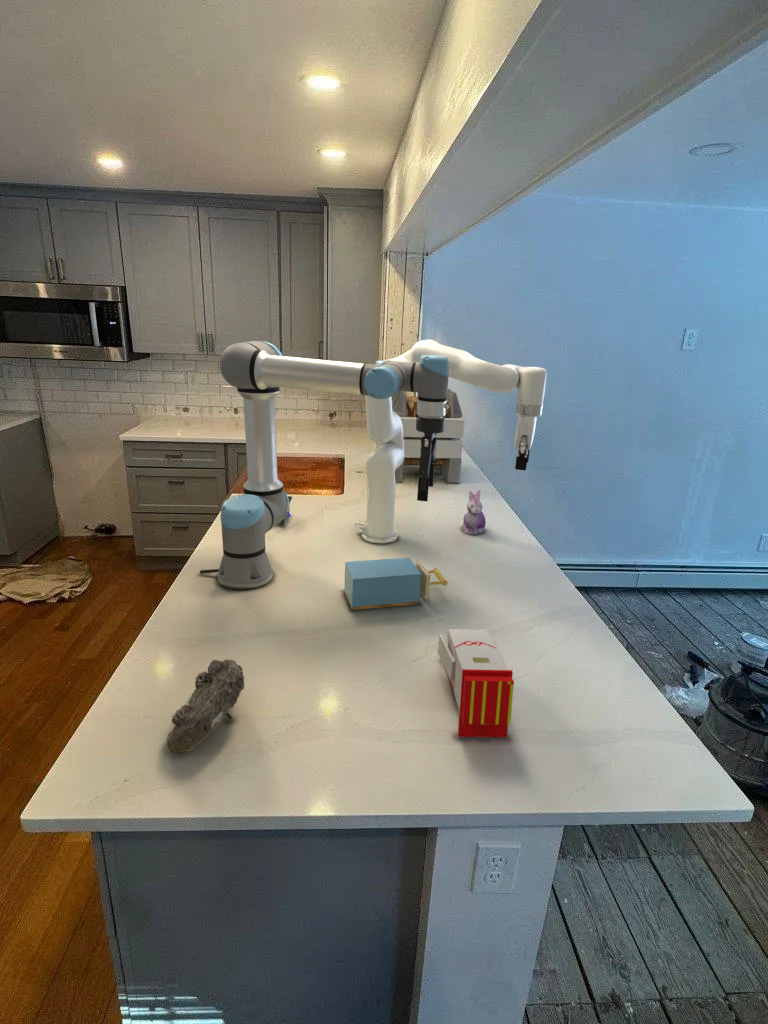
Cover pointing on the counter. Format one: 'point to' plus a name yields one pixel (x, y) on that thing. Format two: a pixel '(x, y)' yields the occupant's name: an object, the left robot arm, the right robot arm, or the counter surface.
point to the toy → (478, 682)
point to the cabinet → (382, 583)
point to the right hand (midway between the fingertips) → (521, 465)
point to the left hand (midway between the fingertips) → (425, 493)
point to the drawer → (426, 577)
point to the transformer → (446, 441)
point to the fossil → (206, 705)
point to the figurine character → (287, 512)
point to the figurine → (474, 515)
